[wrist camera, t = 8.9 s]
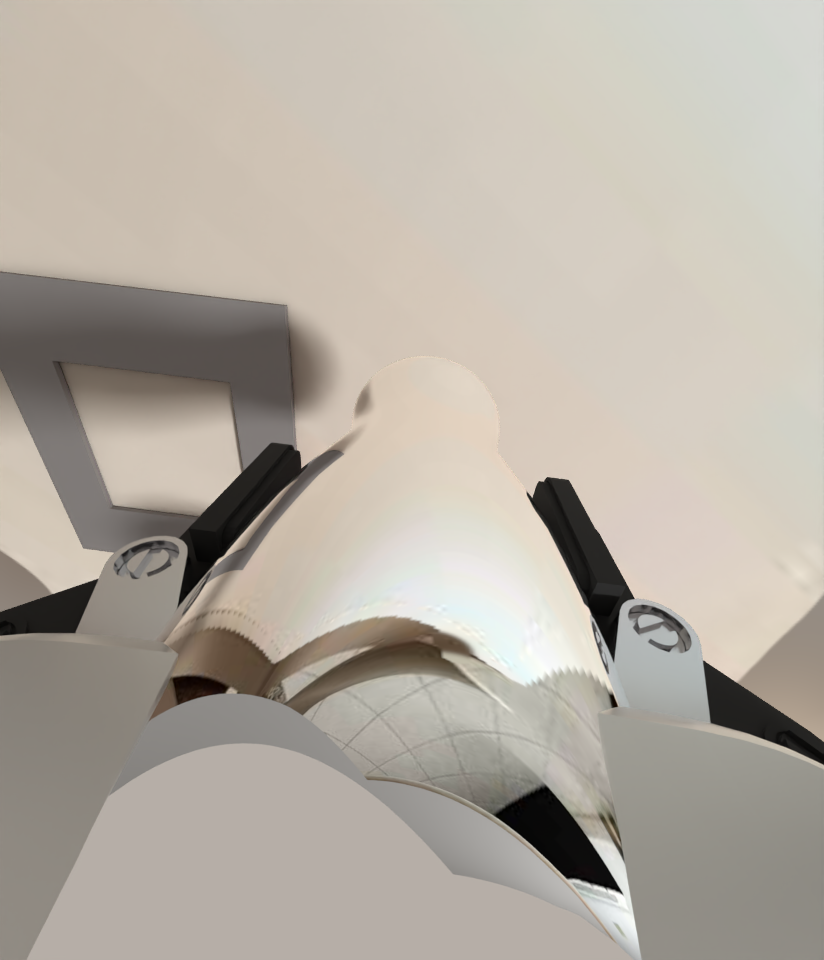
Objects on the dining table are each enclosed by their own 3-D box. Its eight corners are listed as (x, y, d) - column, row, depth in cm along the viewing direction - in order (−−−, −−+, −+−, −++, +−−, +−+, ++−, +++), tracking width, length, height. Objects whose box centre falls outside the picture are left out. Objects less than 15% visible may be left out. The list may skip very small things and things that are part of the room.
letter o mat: (305, 574, 33) (303, 577, 33) (87, 545, 34) (83, 548, 34) (287, 305, 22) (284, 306, 22) (-39, 267, 23) (-47, 267, 22)
